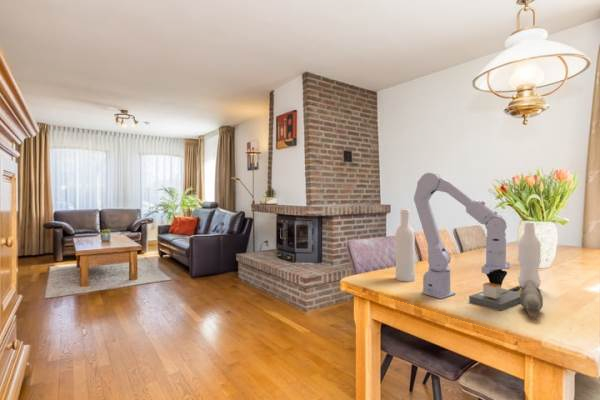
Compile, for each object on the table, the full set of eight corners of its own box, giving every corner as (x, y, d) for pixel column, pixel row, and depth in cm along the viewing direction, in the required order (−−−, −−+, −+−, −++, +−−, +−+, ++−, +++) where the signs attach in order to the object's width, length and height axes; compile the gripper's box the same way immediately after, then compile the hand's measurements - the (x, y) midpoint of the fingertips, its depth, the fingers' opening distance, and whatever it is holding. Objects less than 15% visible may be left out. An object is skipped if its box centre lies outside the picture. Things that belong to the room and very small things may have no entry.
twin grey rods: (518, 298, 112) (518, 295, 112) (501, 294, 116) (501, 291, 116) (533, 292, 118) (533, 289, 118) (517, 288, 123) (517, 285, 123)
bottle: (396, 276, 142) (396, 208, 142) (415, 277, 140) (414, 208, 139) (395, 280, 135) (394, 209, 134) (414, 282, 132) (414, 209, 132)
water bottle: (535, 285, 126) (536, 222, 126) (544, 290, 120) (544, 223, 119) (514, 284, 128) (515, 222, 128) (522, 289, 122) (522, 223, 121)
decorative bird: (521, 318, 94) (521, 291, 94) (519, 302, 108) (519, 278, 108) (545, 323, 91) (545, 294, 91) (540, 305, 105) (540, 280, 105)
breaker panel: (501, 310, 100) (501, 304, 100) (469, 301, 108) (469, 295, 108) (527, 300, 110) (527, 293, 110) (496, 292, 118) (496, 286, 118)
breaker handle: (495, 298, 104) (496, 286, 104) (483, 295, 107) (483, 283, 107) (500, 297, 106) (500, 284, 106) (487, 293, 109) (487, 282, 109)
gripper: (497, 255, 100) (497, 299, 101) (519, 251, 108) (519, 291, 108) (475, 252, 106) (475, 293, 106) (497, 248, 114) (496, 286, 114)
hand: (495, 291), depth 108 cm, fingers closed
